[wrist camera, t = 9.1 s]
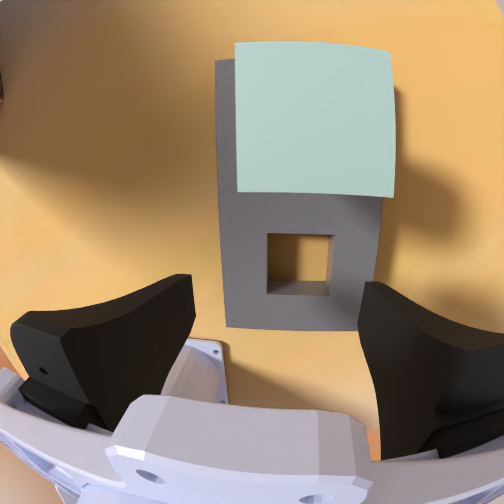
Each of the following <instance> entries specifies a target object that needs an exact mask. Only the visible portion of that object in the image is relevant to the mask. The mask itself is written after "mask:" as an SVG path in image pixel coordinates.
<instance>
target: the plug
mask: <svg viewBox="0 0 504 504" xmlns="http://www.w3.org/2000/svg"><path fill="white" fill-rule="evenodd" d="M235 102H236V153H237V192H292V193H324V194H346V195H363V196H377V197H390V198H394V182H395V155H396V126H395V100H394V86H393V74H392V65H391V57H390V51H385V50H380V49H374V48H368V47H361V46H354V45H346V44H337V43H325V42H308V41H260V42H243V43H235Z"/></svg>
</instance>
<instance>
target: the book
mask: <svg viewBox="0 0 504 504" xmlns="http://www.w3.org/2000/svg"><path fill="white" fill-rule="evenodd" d="M3 99H4V95H3V89H2V82H1V75H0V104H1V103H2V101H3Z"/></svg>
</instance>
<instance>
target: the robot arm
mask: <svg viewBox="0 0 504 504" xmlns="http://www.w3.org/2000/svg"><path fill="white" fill-rule="evenodd" d="M195 317H196V312H195V304H194V295H193V286H192V276H191V275H190V274H175V275H172V276H169V277H167V278H165V279H162V280H160V281H158V282H156V283H153V284H151V285H149V286H147V287H145V288H142V289H140V290H137V291H135V292H133V293H130V294H128V295H125V296H123V297H120V298H117V299H114V300H110V301H107V302H104V303H100V304H95V305H91V306H86V307H82V308H75V309H68V310H57V311H29V312H27V313H25V314H24V315H23V316H21V317H20V318H19V319H18V320H16V321H15V322H14V323H13V324H12V325H11V328H10V336H11V340H12V343H13V346H14V348H15V351H16V353H17V355H18V357H19V359H20V360H21V362H22V364H23V366H24V368H25V370H26V372H27V373H28V375H29V376H30V377H29V378H28V379H27V380H26V381H24V380H23V379H22V378H21V377H20V376H19V375H17V374H16V373H14V372H13V371H11V370H9V369H8V368H6V367H4V368H2V369H1V370H0V441H1V442H2V443H3V444H4V445H5V446H6V447H7V448H8V449H9V450H10V451H12V452H13V453H14V454H15V455H16V456H17V457H19V458H20V459H21V460H23V461H24V462H25V463H26V464H27V465H29V466H30V467H31V468H32V469H34V470H35V471H37V472H38V473H39V474H41V475H42V476H43V477H45V478H46V479H47V480H49V481H50V482H52V483H53V484H55V487H56V490H57V492H58V494H59V495H60V497H61V499H62V500H63V502H64V504H487V503H489V502H491V501H493V500H494V499H496V498H498V497H499V496H501V495H503V494H504V334H502V333H494V332H489V331H484V330H480V329H476V328H472V327H469V326H466V325H463V324H460V323H457V322H454V321H451V320H449V319H446V318H444V317H442V316H440V315H437V314H435V313H433V312H431V311H429V310H427V309H425V308H424V307H422V306H420V305H418V304H416V303H415V302H413V301H411V300H410V299H408V298H407V297H405V296H403V295H402V294H400V293H398V292H397V291H395V290H394V289H392V288H390V287H389V286H387V285H385V284H383V283H381V282H368V281H365V285H364V291H363V296H362V302H361V307H360V312H359V317H358V322H357V326H358V332H359V337H360V343H361V346H362V349H363V352H364V355H365V358H366V361H367V364H368V367H369V371H370V374H371V377H372V380H373V384H374V388H375V393H376V399H377V406H378V414H379V424H380V439H381V461H371V458H370V452H369V446H368V440H367V434H366V428H365V426H364V425H363V424H361V423H360V422H358V421H357V420H356V419H354V418H353V417H351V416H350V415H348V414H344V413H338V412H330V411H323V410H317V409H277V408H261V407H249V406H239V405H230V404H229V402H228V394H227V385H226V377H225V368H224V358H223V349H222V344H221V343H220V342H218V341H210V340H201V339H192V338H188V336H189V334H190V332H191V329H192V326H193V323H194V320H195ZM215 350H217V351H219V352H216V351H215Z"/></svg>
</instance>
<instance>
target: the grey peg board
mask: <svg viewBox="0 0 504 504" xmlns="http://www.w3.org/2000/svg"><path fill="white" fill-rule="evenodd" d="M215 86H216V146H217V178H218V203H219V224H220V243H221V260H222V275H223V290H224V304H225V317H226V327H232V328H247V329H265V330H291V331H358V326H357V322H358V317H359V312H360V307H361V302H362V296H363V291H364V285H365V281H368V282H373V277H374V271H375V264H376V257H377V250H378V242H379V233H380V224H381V213H382V201H383V197H377V196H363V195H346V194H324V193H292V192H237V153H236V102H235V59H227V60H218V61H215ZM269 233H287V234H324V235H330V236H329V250H328V262H327V273H326V281H285V280H269Z"/></svg>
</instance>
